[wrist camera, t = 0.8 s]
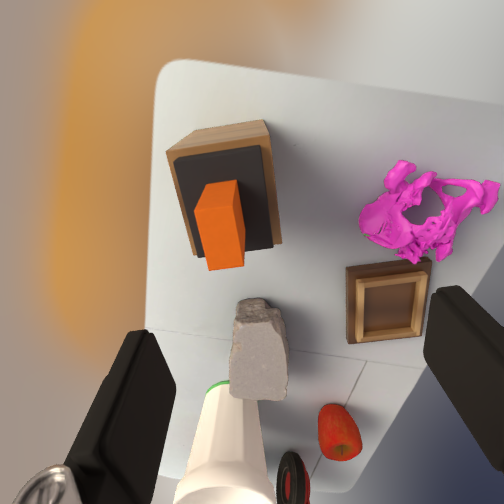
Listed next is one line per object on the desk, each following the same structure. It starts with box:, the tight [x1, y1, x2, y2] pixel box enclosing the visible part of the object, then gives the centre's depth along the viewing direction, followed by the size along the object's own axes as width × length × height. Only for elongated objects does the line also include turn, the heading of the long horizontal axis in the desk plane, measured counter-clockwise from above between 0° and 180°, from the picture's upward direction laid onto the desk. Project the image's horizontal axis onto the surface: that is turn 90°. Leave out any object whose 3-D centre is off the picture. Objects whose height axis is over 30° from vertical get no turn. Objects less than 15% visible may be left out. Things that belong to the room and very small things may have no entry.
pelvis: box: [359, 160, 501, 264], centre depth 32 cm, size 12×10×7 cm
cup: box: [173, 381, 276, 504], centre depth 43 cm, size 12×12×15 cm
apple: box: [318, 404, 362, 461], centre depth 48 cm, size 6×6×8 cm
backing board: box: [346, 257, 432, 344], centre depth 40 cm, size 12×10×2 cm
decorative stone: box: [229, 298, 289, 401], centre depth 41 cm, size 15×7×10 cm
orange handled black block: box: [173, 145, 274, 271], centre depth 19 cm, size 7×6×6 cm
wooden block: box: [166, 120, 282, 255], centre depth 27 cm, size 8×7×12 cm
